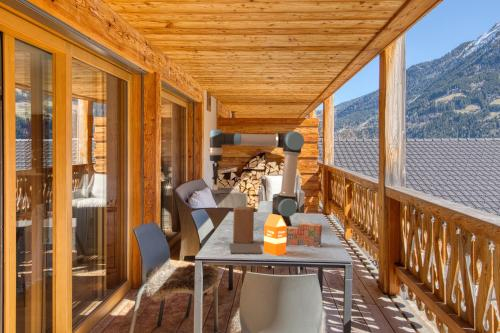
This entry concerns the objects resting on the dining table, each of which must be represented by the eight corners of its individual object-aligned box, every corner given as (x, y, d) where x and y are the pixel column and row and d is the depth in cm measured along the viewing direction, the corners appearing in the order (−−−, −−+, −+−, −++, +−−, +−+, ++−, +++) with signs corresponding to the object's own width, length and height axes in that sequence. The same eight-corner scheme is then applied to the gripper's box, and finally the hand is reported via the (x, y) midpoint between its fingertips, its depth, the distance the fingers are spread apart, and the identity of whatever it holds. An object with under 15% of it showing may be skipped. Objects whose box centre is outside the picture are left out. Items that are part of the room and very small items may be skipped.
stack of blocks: (281, 243, 249) (282, 222, 248) (284, 241, 255) (285, 220, 254) (319, 247, 242) (319, 225, 241) (321, 245, 248) (321, 223, 247)
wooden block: (250, 245, 244) (250, 209, 243) (232, 243, 246) (233, 208, 245) (253, 241, 253) (254, 206, 252) (236, 240, 255) (237, 206, 254)
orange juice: (274, 250, 234) (275, 212, 233) (286, 253, 227) (287, 215, 226) (263, 252, 229) (264, 214, 227) (275, 255, 222) (276, 216, 221)
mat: (258, 244, 244) (258, 243, 244) (261, 254, 224) (262, 252, 224) (229, 244, 243) (229, 243, 243) (230, 254, 223) (230, 252, 223)
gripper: (210, 154, 285) (210, 186, 286) (209, 155, 260) (208, 190, 261) (222, 154, 285) (221, 186, 286) (221, 155, 260) (221, 190, 261)
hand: (215, 188), depth 274 cm, fingers open, 13 cm apart
